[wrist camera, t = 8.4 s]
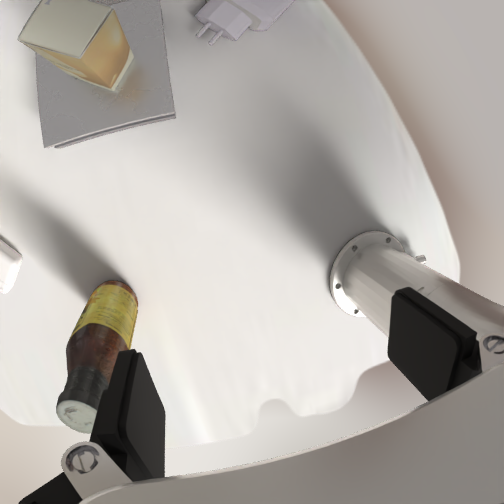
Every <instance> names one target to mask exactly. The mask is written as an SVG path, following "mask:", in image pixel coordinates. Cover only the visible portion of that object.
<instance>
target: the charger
mask: <svg viewBox="0 0 504 504" xmlns="http://www.w3.org/2000/svg"><path fill="white" fill-rule="evenodd" d="M294 1H295V0H206V2H207V3H206V4H205V5H204V6H203V7H202V8H201V9H200V10H199V11H198V13H197V14H196V15H195V17H196V18H197V19H198V20H199V21H200V22H202V23H203V24H204V26H203V27H202V29H201V30H200V31H199V32H198V33H197V34H196V36H197V37H200V36H201V35H202V34H203V33H204V32H205V31H206V30H207V29H208V28H210V29H211V30H213V31H215V32H216V35H215V36H214V37H213V38H212V39H211V40H210V41H209V44H210V45H213V44H214V42H215V41H216V40H217V39H218V38H219V37H220V36H223V37H226V38H228V39H231V40H235V41H236V40H237V39H238V38H239V37H240V36H241V35H242V33H243V32H244V31H245V30H246V29H247V28H250V29H251V30H253V31H266V30H267V29H268V28H269V27H270V26H271V25H272V24H273V23H274V22H275V21H276V19H277V18H278V17H279V16H280V15H281V14H282V13H283V12H284V11H285V10H286V9H287V8H288V7H289V6H290V5H291V4H292V3H293V2H294Z"/></svg>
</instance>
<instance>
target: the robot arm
mask: <svg viewBox="0 0 504 504" xmlns="http://www.w3.org/2000/svg"><path fill="white" fill-rule="evenodd" d="M425 263H426V258H425V256H424V255H420V256H417V257H415V258H414V257H412V256H410V255H408V254H406V253H405V251H404V249H403V247H402V245H401V243H400V242H399V241H398V240H397V239H396V238H394V237H393V236H392V235H389V234H387V233H385V232H381V231H370V232H365V233H363V234H360V235H358V236H356V237H355V238H353V239H352V240H351V241H349V242H348V243H347V244H346V245H345V246H344V247H343V249H342V250H341V251H340V253H339V254H338V256H337V258H336V260H335V262H334V264H333V267H332V270H331V276H330V289H331V294H332V297H333V299H334V301H335V302H336V304H337V305H338V306H339V307H340V308H341V309H342V310H343V311H344V312H346V313H347V314H349V315H352V316H357V317H364V316H366V317H367V318H368V319H369V320H370V321H371V322H372V323H373V324H374V325H375V326H376V327H377V328H378V329H379V330H381V331H382V332H383V333H384V334H385V335H386V336H387V337H388V338H389V340H388V357H389V359H390V360H391V361H392V362H393V364H394V365H395V366H396V367H397V368H398V369H399V370H400V371H401V372H402V373H403V374H404V375H405V376H406V378H407V379H408V380H409V381H410V382H411V383H412V384H413V385H414V386H415V387H416V388H417V389H418V390H419V392H421V394H422V395H423V396H424V397H425V398H426V399H427V400H428V402H426V403H424V404H422V405H420V406H418V407H416V408H414V409H412V410H410V411H407V412H405V413H403V414H401V415H398V416H396V417H394V418H392V419H389V420H387V421H384V422H382V423H379V424H377V425H374V426H372V427H369V428H367V429H364V430H362V431H359V432H356V433H354V434H351V435H348V436H345V437H342V438H340V439H337V440H334V441H331V442H328V443H324V444H322V445H318V446H315V447H312V448H308V449H305V450H302V451H298V452H294V453H291V454H287V455H283V456H279V457H275V458H271V459H267V460H263V461H258V462H254V463H250V464H245V465H240V466H234V467H229V468H224V469H218V470H212V471H206V472H200V473H193V474H186V475H178V476H171V477H165V474H164V473H165V471H164V469H165V467H164V466H165V465H164V464H165V410H164V407H163V404H162V402H161V400H160V397H159V395H158V393H157V390H156V388H155V385H154V383H153V381H152V378H151V376H150V373H149V370H148V368H147V365H146V363H145V360H144V358H143V355H142V353H141V352H138V353H137V352H136V350H135V349H131V350H124V351H119V352H118V355H117V358H116V362H115V365H114V368H113V372H112V375H111V379H110V382H109V386H108V389H105V390H103V392H102V395H101V399H100V402H99V406H98V410H97V413H96V417H95V421H94V425H93V429H92V433H91V437H90V441H89V442H80V443H77V444H75V445H73V446H71V447H70V448H69V449H67V450H66V452H65V453H64V454H63V457H62V460H61V466H62V469H63V471H64V472H62V473H61V474H60V475H58V476H57V477H55V478H54V479H52V480H51V481H49V482H48V483H46V484H45V485H43V486H42V487H40V488H39V489H37V490H36V491H34V492H33V493H31V494H29V495H28V496H26V497H25V498H23V499H22V500H21V501H20V502H19V504H504V306H502V305H499V304H497V303H495V302H492V301H491V300H489V299H487V298H485V297H483V296H481V295H479V294H477V293H475V292H473V291H471V290H470V289H468V288H466V287H464V286H462V285H461V284H459V283H456V282H455V281H453V280H451V279H449V278H447V277H446V276H444V275H442V274H440V273H438V272H436V271H435V270H433V269H431V268H429V267H427V266H425V265H423V264H425Z"/></svg>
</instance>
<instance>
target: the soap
mask: <svg viewBox="0 0 504 504" xmlns="http://www.w3.org/2000/svg"><path fill="white" fill-rule="evenodd" d="M22 260H23V258H22V256H21V255H20V254H19V253H18V252H16V251H15V250H14V249H12V248H11V247H10V246H9V245H7V244H6V243H5V242H3V241H2V240H1V239H0V292H2V293H4V294H5V293H7V292H8V291H9V290H10V289H11V288H12V287H13V285H14V282H15V280H16V277H17V274H18V271H19V268H20V266H21V263H22Z"/></svg>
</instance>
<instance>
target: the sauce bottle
mask: <svg viewBox="0 0 504 504" xmlns="http://www.w3.org/2000/svg"><path fill="white" fill-rule="evenodd" d="M137 307H138V301H137V297H136V295H135V293H134V292H133V291H132V289H131V288H130V287H129V286H127V285H126V284H124V283H122V282H119V281H107V282H104V283H103V284H101V285H99V286H98V287H97V288H96V290H95V291H94V292H93V293H92V295H91V297H90V299H89V300H88V302H87V304H86V306H85V308H84V310H83V312H82V314H81V316H80V318H79V320H78V322H77V324H76V326H75V329H74V330H73V332H72V335H71V337H70V339H69V341H68V344H67V348H66V357H67V370H68V377H67V383H66V385H65V388H64V391H63V392H62V393H61V394H60V396H59V398H58V402H57V406H56V412H57V415H58V417H59V419H60V420H61V421H62V422H63V423H64V424H65V425H67V426H68V427H70V428H72V429H74V430H76V431H78V432H81V433H88V434H89V433H92V429H93V425H94V421H95V417H96V413H97V410H98V406H99V402H100V399H101V395H102V392H103V390H105V389H108V386H109V382H110V379H111V375H112V372H113V368H114V365H115V362H116V358H117V355H118V352H119V351H124V350H130V348H131V343H132V338H133V333H134V328H135V323H136V318H137V313H138V310H137Z"/></svg>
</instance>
